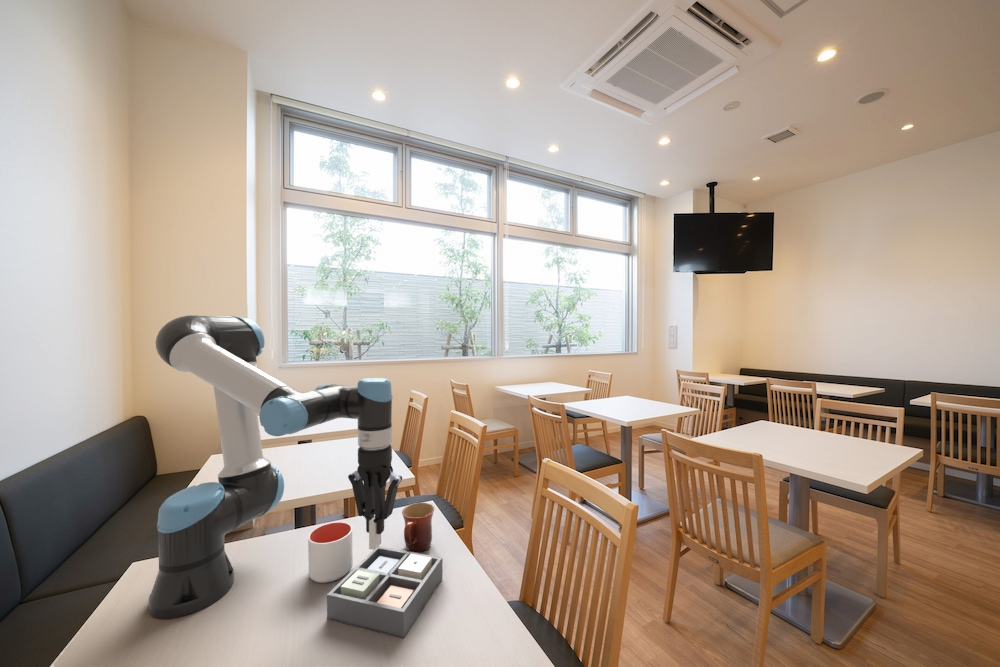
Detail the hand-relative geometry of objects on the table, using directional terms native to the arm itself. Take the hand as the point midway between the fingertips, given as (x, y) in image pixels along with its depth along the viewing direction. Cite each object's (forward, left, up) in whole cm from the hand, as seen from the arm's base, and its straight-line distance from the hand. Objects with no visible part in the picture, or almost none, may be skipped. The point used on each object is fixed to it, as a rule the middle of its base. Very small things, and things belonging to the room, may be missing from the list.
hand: (375, 545), depth 87 cm
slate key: (0, +3, -9) cm, 10 cm away
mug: (+2, +16, -10) cm, 19 cm away
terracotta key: (+9, -6, -9) cm, 14 cm away
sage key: (0, -6, -8) cm, 10 cm away
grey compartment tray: (+5, -2, -10) cm, 11 cm away
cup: (-14, +2, -10) cm, 18 cm away
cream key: (+9, +3, -8) cm, 12 cm away
